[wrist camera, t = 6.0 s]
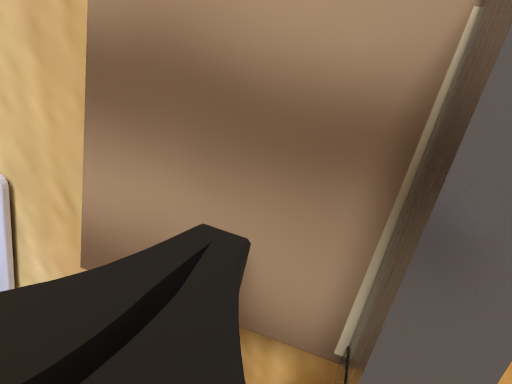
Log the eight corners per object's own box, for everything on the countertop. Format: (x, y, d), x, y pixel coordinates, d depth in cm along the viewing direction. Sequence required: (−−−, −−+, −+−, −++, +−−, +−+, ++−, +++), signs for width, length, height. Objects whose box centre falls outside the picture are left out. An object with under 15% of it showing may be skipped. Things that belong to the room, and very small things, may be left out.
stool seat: (430, 341, 14) (441, 404, 12) (122, 233, 16) (78, 268, 14) (642, -54, 9) (734, -81, 7) (151, -144, 11) (89, -190, 8)
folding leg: (501, -52, 7) (554, -86, 5) (652, -26, 7) (780, -50, 5) (336, 375, 12) (326, 453, 10) (420, 405, 12) (431, 495, 9)
